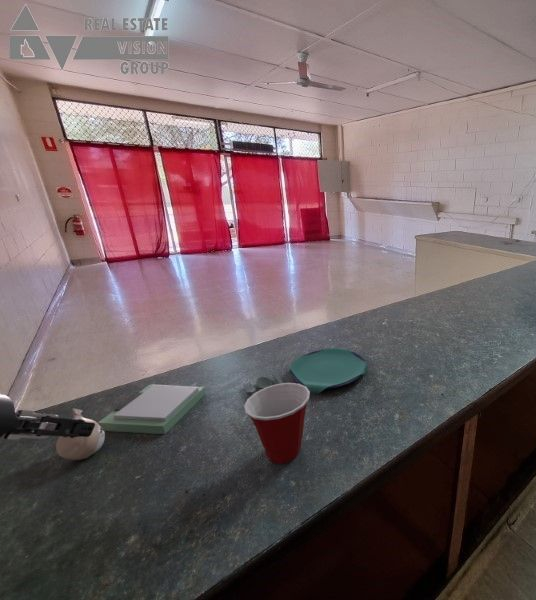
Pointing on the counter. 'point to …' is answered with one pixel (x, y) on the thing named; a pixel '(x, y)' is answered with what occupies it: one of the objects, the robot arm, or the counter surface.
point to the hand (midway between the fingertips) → (66, 428)
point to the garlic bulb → (80, 441)
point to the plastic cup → (279, 419)
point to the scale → (153, 409)
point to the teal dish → (321, 370)
